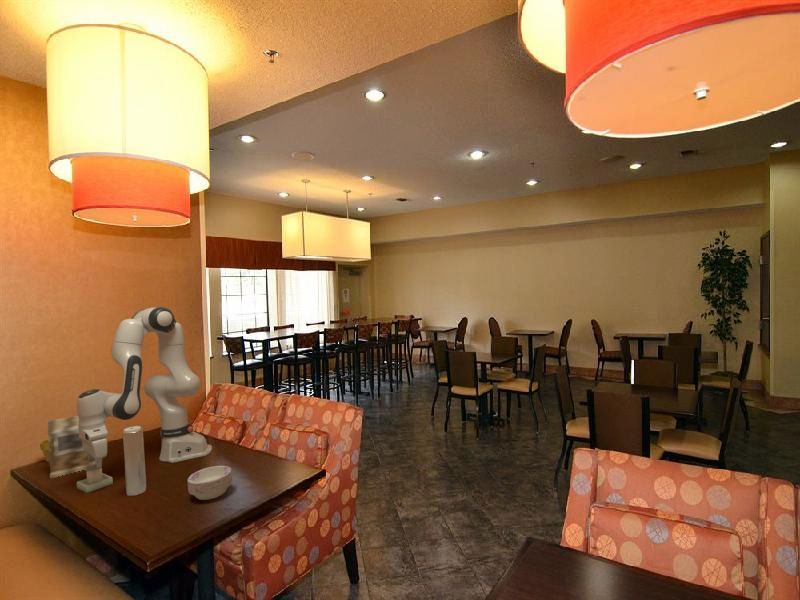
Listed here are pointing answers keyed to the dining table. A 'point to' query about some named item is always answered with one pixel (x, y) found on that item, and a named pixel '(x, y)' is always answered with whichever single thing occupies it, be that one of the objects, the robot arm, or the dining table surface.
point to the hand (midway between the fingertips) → (95, 464)
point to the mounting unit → (66, 447)
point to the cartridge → (93, 474)
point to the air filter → (134, 460)
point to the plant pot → (45, 449)
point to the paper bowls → (210, 482)
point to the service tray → (83, 484)
